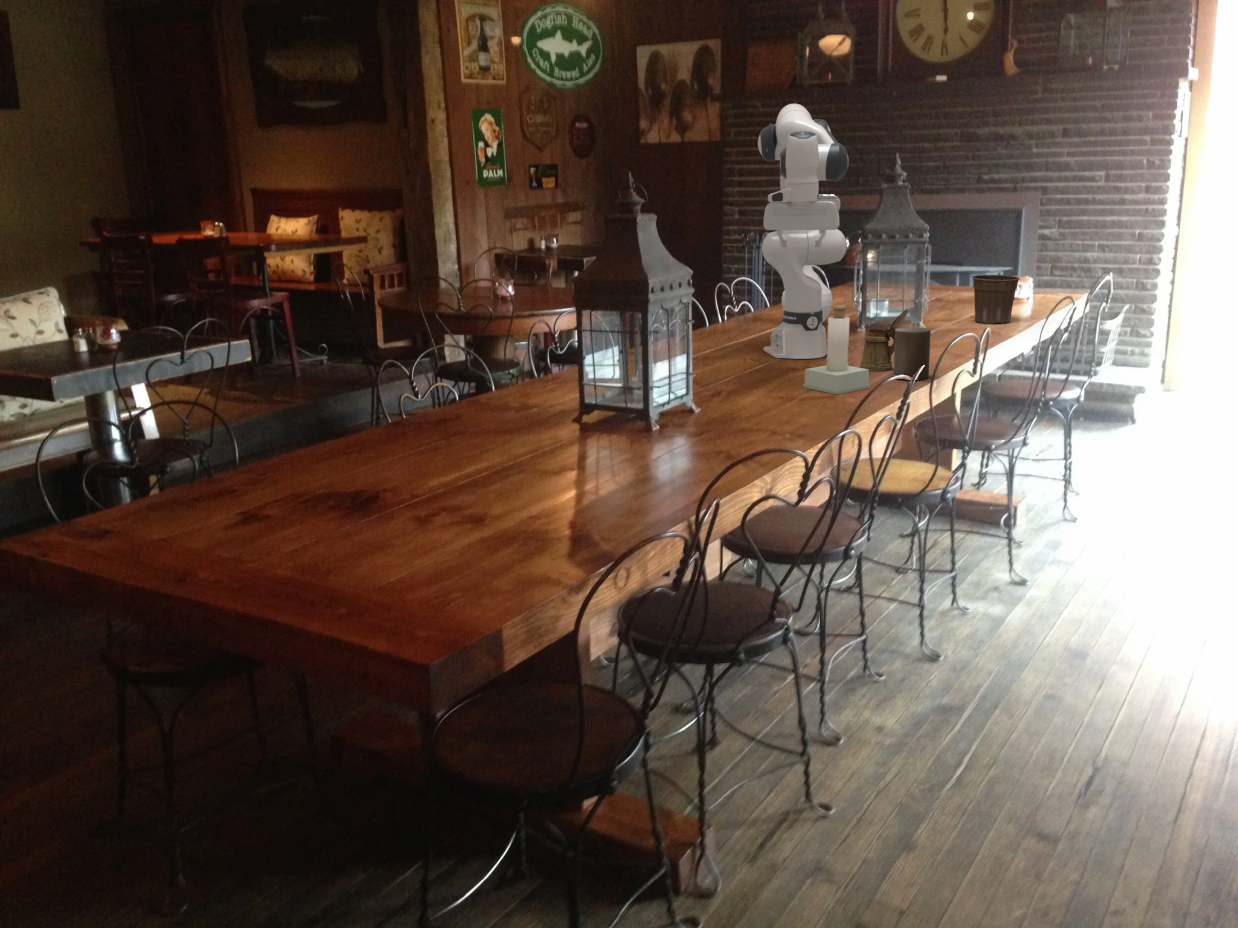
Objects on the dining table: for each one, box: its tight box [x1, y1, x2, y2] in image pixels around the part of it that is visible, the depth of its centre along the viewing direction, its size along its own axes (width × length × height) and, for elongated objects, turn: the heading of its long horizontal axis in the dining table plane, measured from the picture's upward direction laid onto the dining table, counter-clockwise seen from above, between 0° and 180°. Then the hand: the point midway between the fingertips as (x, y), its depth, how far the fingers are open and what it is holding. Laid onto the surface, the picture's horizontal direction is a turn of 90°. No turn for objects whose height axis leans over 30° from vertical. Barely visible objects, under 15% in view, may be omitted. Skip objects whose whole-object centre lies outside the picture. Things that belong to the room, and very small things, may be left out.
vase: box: [781, 265, 833, 324], centre depth 406 cm, size 18×18×30 cm
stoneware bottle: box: [826, 305, 850, 371], centre depth 302 cm, size 6×6×17 cm
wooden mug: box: [859, 308, 909, 372], centre depth 326 cm, size 9×14×18 cm, turn 54°
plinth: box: [802, 364, 871, 395], centre depth 305 cm, size 13×13×5 cm
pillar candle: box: [893, 324, 931, 381], centre depth 314 cm, size 10×10×15 cm
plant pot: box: [971, 274, 1021, 325], centre depth 403 cm, size 16×16×16 cm
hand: (800, 247), depth 305 cm, fingers open, 8 cm apart
